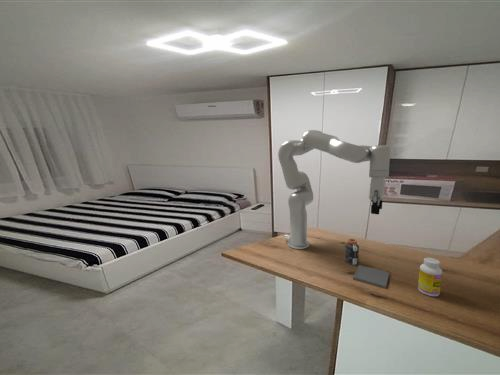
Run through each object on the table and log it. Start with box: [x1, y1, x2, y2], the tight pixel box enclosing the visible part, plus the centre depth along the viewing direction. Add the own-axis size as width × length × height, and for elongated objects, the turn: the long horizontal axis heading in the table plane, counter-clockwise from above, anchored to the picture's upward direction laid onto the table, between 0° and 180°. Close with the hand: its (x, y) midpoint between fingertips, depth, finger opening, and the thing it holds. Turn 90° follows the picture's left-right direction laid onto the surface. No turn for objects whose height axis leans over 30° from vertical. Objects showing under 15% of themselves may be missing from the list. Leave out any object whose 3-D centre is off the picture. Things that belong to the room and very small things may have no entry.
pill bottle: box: [344, 238, 360, 266], centre depth 110 cm, size 6×6×11 cm
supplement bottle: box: [417, 257, 443, 297], centre depth 86 cm, size 7×7×13 cm
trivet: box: [353, 264, 390, 289], centre depth 98 cm, size 12×12×1 cm
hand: (376, 211), depth 104 cm, fingers open, 9 cm apart
